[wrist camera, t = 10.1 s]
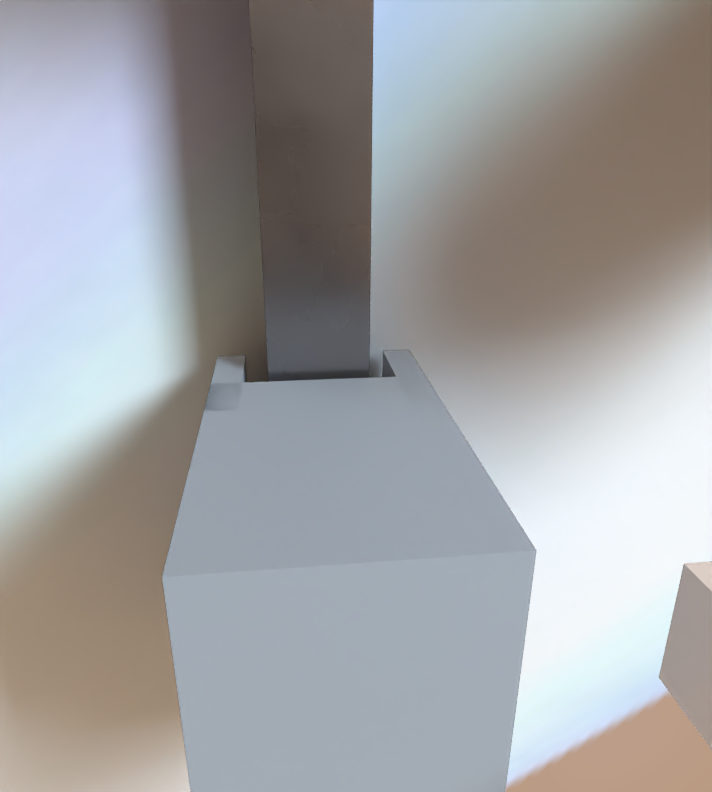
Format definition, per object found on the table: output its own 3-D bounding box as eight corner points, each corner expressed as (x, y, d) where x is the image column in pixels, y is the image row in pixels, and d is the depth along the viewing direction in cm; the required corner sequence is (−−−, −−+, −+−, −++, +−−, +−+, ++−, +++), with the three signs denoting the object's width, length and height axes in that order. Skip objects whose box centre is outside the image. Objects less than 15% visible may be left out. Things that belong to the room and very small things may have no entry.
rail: (240, -226, 13) (232, -304, 11) (358, -218, 13) (376, -293, 11) (279, 559, 20) (280, 614, 18) (356, 554, 20) (366, 608, 18)
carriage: (217, 356, 17) (162, 576, 8) (408, 349, 17) (536, 550, 9) (233, 551, 19) (202, 878, 10) (402, 539, 19) (498, 841, 11)
